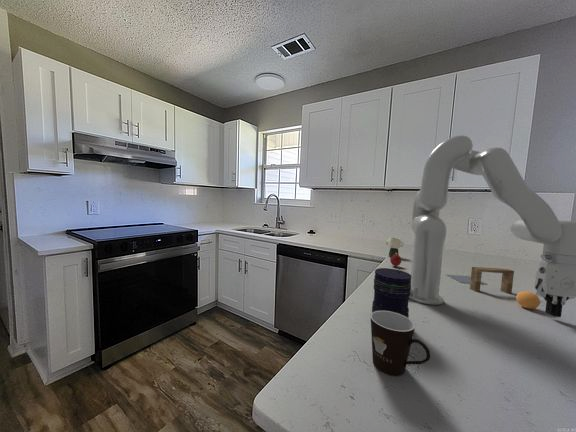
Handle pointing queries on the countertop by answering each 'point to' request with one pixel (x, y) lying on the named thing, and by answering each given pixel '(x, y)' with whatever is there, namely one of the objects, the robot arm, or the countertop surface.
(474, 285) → the bridge
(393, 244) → the character mug
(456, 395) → the countertop surface
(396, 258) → the onion
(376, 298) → the storage jar
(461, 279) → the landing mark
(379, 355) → the coffee mug
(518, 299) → the ball
